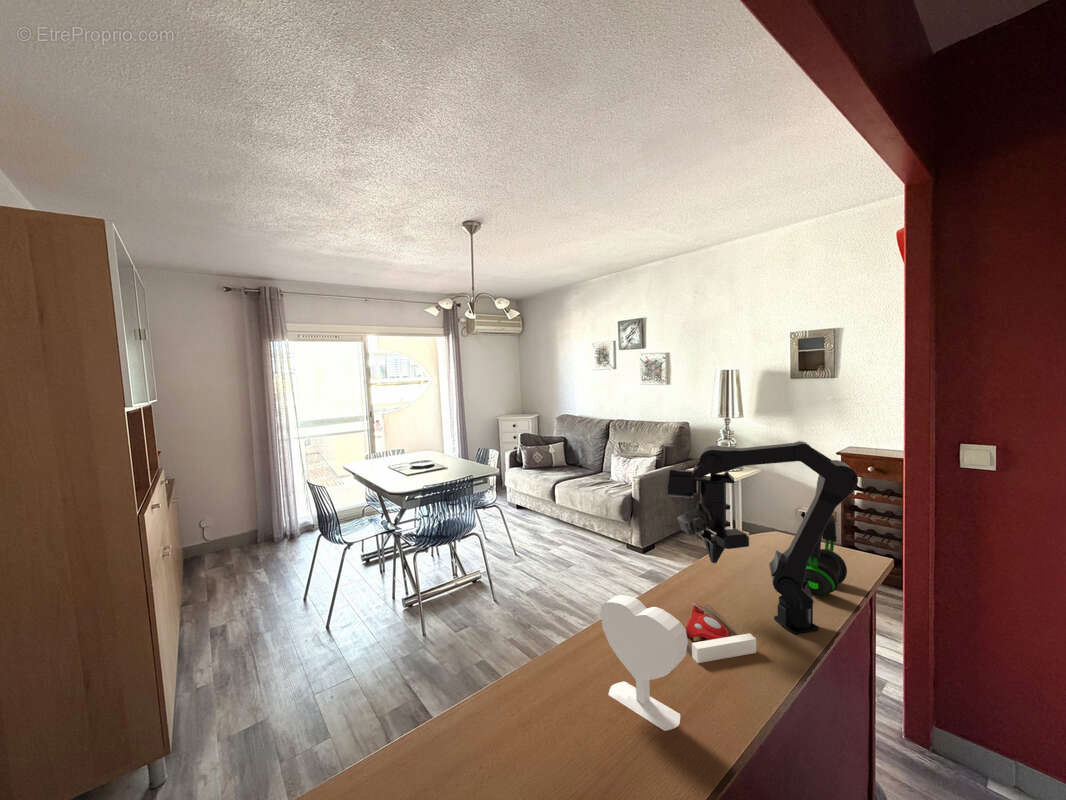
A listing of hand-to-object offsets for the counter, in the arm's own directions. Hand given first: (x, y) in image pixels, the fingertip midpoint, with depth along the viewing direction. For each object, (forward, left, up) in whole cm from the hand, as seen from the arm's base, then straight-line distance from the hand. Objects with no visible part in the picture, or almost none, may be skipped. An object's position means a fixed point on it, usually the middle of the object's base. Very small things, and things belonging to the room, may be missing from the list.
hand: (713, 562), depth 107 cm
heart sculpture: (+30, +24, -12) cm, 40 cm away
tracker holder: (+6, +6, -12) cm, 15 cm away
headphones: (-33, -2, -12) cm, 35 cm away
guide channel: (+8, +7, -12) cm, 16 cm away
